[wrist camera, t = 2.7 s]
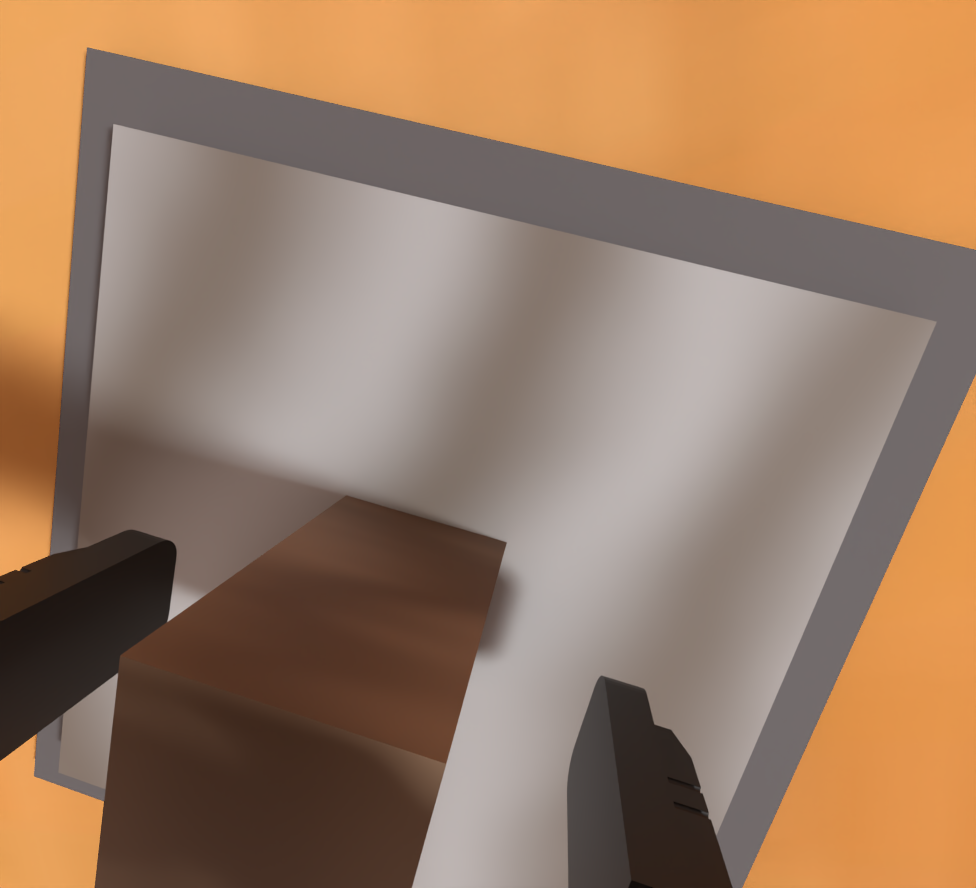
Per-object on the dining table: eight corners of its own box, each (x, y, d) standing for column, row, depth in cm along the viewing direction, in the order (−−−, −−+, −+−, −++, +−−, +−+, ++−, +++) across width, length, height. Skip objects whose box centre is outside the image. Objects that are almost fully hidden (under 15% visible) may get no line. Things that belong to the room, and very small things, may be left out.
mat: (1008, 264, 10) (1027, 261, 10) (683, 991, 14) (686, 1009, 14) (103, 57, 12) (86, 47, 11) (47, 765, 16) (34, 776, 15)
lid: (908, 323, 10) (1581, 286, 3) (647, 946, 13) (730, 1530, 7) (144, 138, 11) (-440, -147, 5) (84, 749, 15) (-301, 1079, 8)
